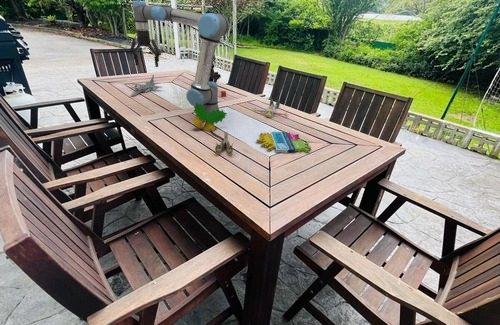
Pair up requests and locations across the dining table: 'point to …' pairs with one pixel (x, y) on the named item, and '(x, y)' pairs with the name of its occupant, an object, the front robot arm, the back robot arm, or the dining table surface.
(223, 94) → the canister
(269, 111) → the toy
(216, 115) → the ornament
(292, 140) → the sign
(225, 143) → the jawbone
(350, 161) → the dining table surface
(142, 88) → the airplane
